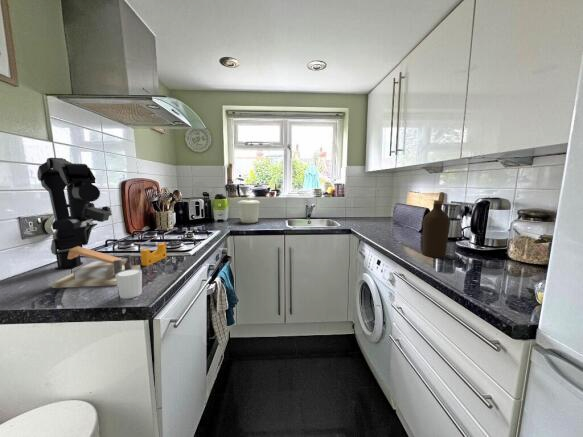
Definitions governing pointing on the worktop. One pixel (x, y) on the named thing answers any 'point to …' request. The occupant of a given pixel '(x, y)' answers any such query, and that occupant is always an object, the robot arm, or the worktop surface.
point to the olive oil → (435, 232)
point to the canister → (248, 210)
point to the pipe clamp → (153, 255)
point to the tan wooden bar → (93, 255)
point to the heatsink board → (87, 281)
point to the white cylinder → (129, 283)
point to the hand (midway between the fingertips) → (85, 244)
